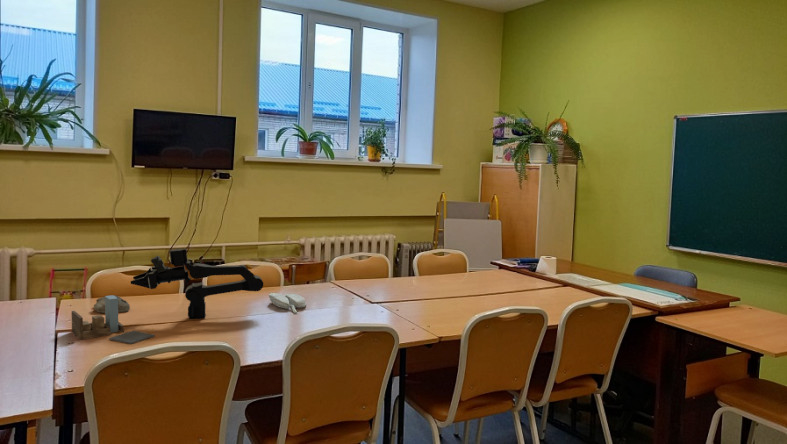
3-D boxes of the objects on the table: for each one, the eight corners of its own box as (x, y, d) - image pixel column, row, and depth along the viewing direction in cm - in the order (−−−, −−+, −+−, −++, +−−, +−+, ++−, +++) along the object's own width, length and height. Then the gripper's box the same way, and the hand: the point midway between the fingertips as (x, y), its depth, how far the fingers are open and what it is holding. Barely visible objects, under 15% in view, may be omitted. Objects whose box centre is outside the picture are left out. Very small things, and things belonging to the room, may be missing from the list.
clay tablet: (94, 304, 262) (93, 314, 245) (94, 293, 262) (93, 303, 244) (128, 303, 269) (130, 312, 251) (128, 292, 268) (130, 301, 250)
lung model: (302, 300, 284) (315, 317, 261) (266, 302, 277) (276, 321, 255) (302, 287, 283) (315, 303, 260) (266, 289, 276) (277, 306, 254)
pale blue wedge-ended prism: (113, 327, 227) (113, 295, 226) (118, 331, 222) (118, 298, 221) (105, 329, 225) (105, 296, 224) (110, 332, 220) (109, 299, 219)
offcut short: (87, 332, 220) (86, 320, 220) (90, 335, 216) (90, 323, 216) (78, 333, 218) (78, 321, 218) (81, 336, 214) (81, 325, 214)
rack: (115, 325, 230) (114, 305, 229) (124, 332, 221) (124, 312, 220) (71, 331, 220) (71, 311, 219) (80, 339, 211) (79, 318, 210)
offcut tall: (100, 330, 223) (100, 314, 223) (104, 333, 220) (104, 317, 219) (92, 331, 221) (92, 316, 221) (95, 334, 218) (95, 319, 217)
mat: (133, 332, 222) (133, 330, 222) (155, 336, 218) (155, 334, 218) (109, 339, 212) (109, 337, 212) (131, 344, 208) (131, 342, 208)
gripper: (170, 252, 249) (131, 257, 244) (168, 259, 231) (126, 264, 227) (174, 277, 250) (135, 282, 246) (172, 286, 233) (130, 292, 228)
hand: (131, 280), depth 237 cm, fingers open, 9 cm apart
